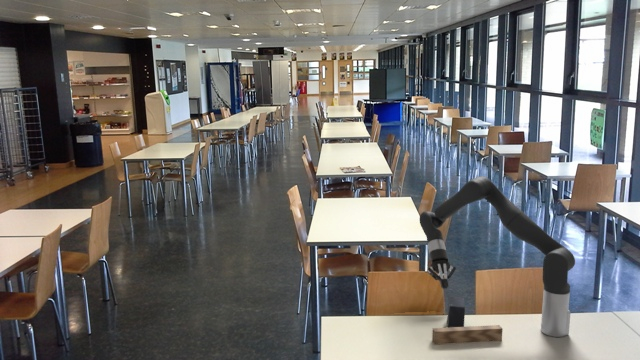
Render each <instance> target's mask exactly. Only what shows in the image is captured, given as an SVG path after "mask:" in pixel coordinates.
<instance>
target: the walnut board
mask: <svg viewBox="0 0 640 360" xmlns="http://www.w3.org/2000/svg"><path fill="white" fill-rule="evenodd" d="M431 334H432V336H431V340H432V342H433V344H434V345H449V344H467V343H468V344H469V343H470V344H471V343H487V342H502V341H503V327H502V326H501V325H499V324H493V325H473V326H464V327H449V328H448V327H432V333H431Z"/></svg>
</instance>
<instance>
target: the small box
mask: <svg viewBox="0 0 640 360" xmlns="http://www.w3.org/2000/svg"><path fill="white" fill-rule="evenodd" d="M447 305H448V306H447V319H446V322H447V324H446V325H447V326H446V328H449V327H465V315H466V314H465V313H466V307H465V305H466V304H465V299H464V296H463V297H462V296H452V295H448V304H447Z"/></svg>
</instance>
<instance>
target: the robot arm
mask: <svg viewBox="0 0 640 360" xmlns="http://www.w3.org/2000/svg"><path fill="white" fill-rule="evenodd" d="M482 200H485V201H487V202H488V203H489V204H491V205H492V206H493V208H494V209H495V211H496V212H497V214H498V218H499V220H500V222H501V224H502V225H503V226H504V227H505V229H507V230H508V232H510V233H511V234H512V235H513V236H515V238H517V239H519V240H520V241H523V242H524V243H526V244H529V245H530V246H532V247H535V248H536V249H537V250H538V251H540V252H541V253H542V254H543V255H544V258H543V261H542V283H543V292H542V293H543V294H542V295H543V296H542V309H541V322H540V331H541V333H543V334H544V335H547V336H548V337H552V338H553V337H554V338H562V337H565V336H568V335H569V334H570V323H571V310H569V309H570V307H569V305H570V294H571V293H570V291H571V285H570V283H569V282H568V278H569V276H568V274H569V271H571V270H572V269H573V268H574V267H575V265H576V258H575V256H574V254H573V253H572V252H571V251H570V249H568V248H567V247H565V246H564V245H562V244H561V243H560V242H559V241H557V240H556V239H554V238H553V237H551V236H550V235H549V234H548V233H547V232H546V231H545V230H544V229H542V227H541V226H539V225H538V224H537V223H536V222H535V221H534V220H532V219H531V218H530V216H528V215H527V214H526V213H525V212H524V211H523V210H521V209H520V208H519V207H518V206H517V205H516V204H514V203H513V202H512V201H511V200H510V199H509V198H508V197H507V196H505V194H504V193H503V192H502V191H501V190H500V189H499V188H498V187H497V186H496V184H495V183H494V182H493V181H492V180H491V179H489V177H486V176H482V175H481V176H476V177H475V178H472V179H469V180H468V181H467V182H466V183H465V184H464V185H463V186H462V187H461V188H460V189H459V190H458V191H457V192H456V193H455V194H454V195H452V196H451V197H449V198H448V199H446V200H445V201H443V202H441V203H440V204H438V205H437V206H436V207H435V209H434V211H433V212H432V211H427V210H425V211H423V212H421V214H420V215H419V224H420V227H421V229H422V231H423V233H424V234H425V237H426V240H427V247H428V254H429V259H430V266H429V267H427V270H426V273H428V275H429V276H431V277H432V278H433V279H434V280H435V281H439V283H440V287H441V289H442V290H447V289H448V288H449V281H450V279H451V278H452V276H453V274H454V272H455V271H456V269H457V267H456V266H453V265H451V263H450V262H449V257H448V253H447V249H446V248H447V247H446V244H445V242H444V237H443V233H442V231H441V230H440V229H439V228H441V227H442V226H443V225H444V223H445V222H446V221H447V220H448V219H449V218H450V217H452V216H454V215H455V214H457V213H459V211H460V210H461V209H462V208H464V207H465V206H467V205H469V204H472V203H474V202H479V201H482ZM448 271H449V274H448Z"/></svg>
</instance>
